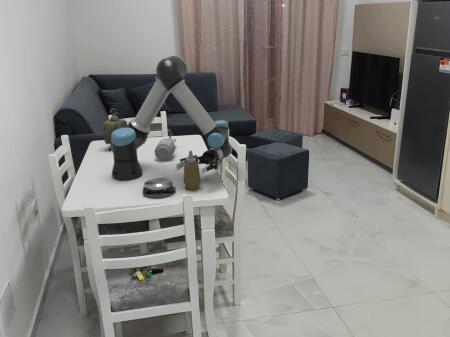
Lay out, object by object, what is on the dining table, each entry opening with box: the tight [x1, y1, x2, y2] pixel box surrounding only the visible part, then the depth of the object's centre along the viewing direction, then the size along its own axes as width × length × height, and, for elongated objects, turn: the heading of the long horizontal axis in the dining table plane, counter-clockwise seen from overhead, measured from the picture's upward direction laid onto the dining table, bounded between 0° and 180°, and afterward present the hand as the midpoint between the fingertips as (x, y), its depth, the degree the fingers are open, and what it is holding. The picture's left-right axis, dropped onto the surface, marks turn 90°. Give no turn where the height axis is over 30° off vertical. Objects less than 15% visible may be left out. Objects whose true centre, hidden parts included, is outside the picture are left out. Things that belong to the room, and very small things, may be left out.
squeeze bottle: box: [183, 150, 202, 191], centre depth 199 cm, size 8×8×18 cm
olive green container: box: [102, 107, 128, 151], centre depth 263 cm, size 14×9×25 cm, turn 162°
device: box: [154, 134, 177, 162], centre depth 253 cm, size 31×10×10 cm, turn 179°
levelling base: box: [142, 177, 176, 200], centre depth 197 cm, size 15×15×4 cm
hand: (189, 169), depth 197 cm, fingers open, 13 cm apart
